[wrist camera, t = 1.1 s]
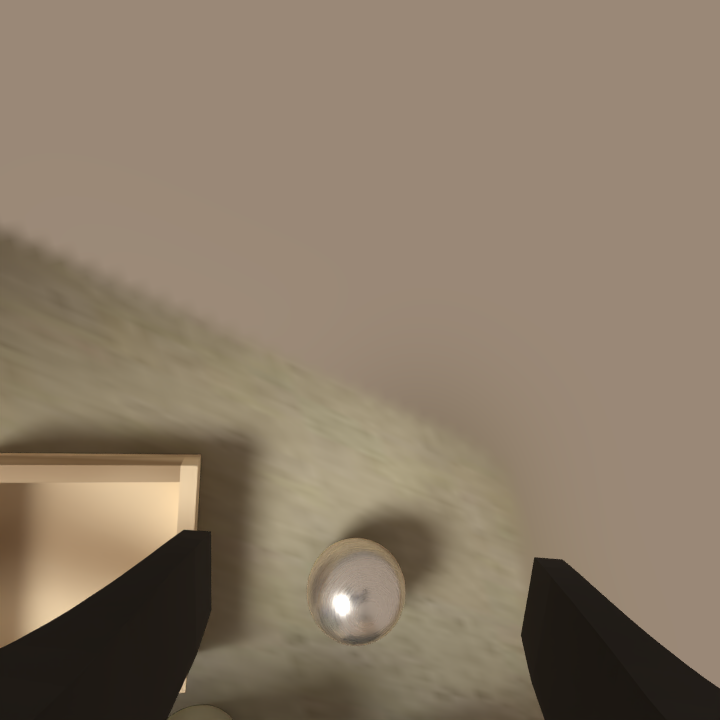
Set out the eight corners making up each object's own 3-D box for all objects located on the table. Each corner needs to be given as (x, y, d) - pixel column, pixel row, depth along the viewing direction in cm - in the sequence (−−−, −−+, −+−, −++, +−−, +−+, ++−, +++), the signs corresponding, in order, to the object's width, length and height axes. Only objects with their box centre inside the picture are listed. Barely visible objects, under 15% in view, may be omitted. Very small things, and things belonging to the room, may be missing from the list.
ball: (386, 614, 24) (417, 662, 20) (298, 620, 23) (312, 671, 19) (390, 524, 24) (422, 554, 20) (302, 526, 23) (318, 559, 19)
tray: (190, 654, 22) (185, 692, 19) (-40, 673, 20) (-80, 718, 17) (201, 454, 22) (197, 465, 19) (-25, 452, 20) (-62, 464, 17)
